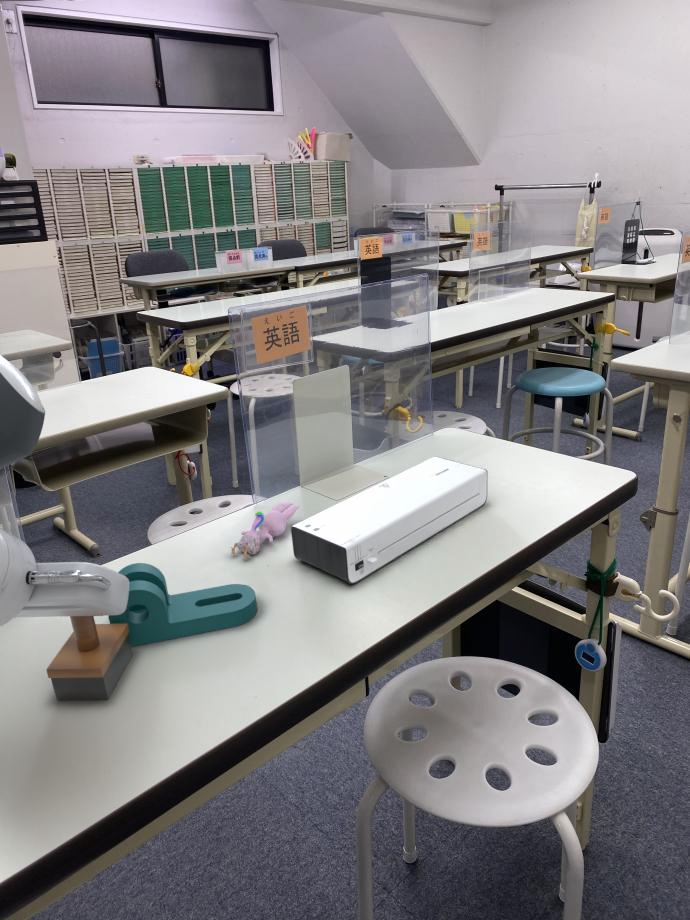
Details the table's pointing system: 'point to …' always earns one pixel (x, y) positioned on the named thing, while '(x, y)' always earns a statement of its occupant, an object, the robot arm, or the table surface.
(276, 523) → the rabbit figure
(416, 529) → the laminator
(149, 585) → the bracket
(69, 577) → the robot arm
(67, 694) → the hand brush
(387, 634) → the table surface
